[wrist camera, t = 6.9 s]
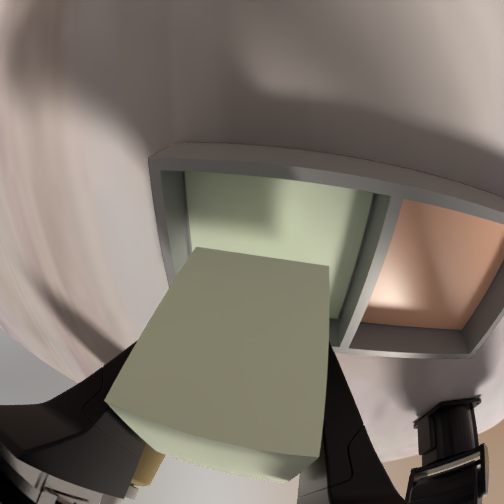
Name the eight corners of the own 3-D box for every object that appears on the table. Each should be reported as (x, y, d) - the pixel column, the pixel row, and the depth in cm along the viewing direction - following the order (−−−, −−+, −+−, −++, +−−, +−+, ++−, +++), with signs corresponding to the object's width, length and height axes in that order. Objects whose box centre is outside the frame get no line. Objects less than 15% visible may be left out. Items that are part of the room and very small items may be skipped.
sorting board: (525, 206, 9) (549, 230, 7) (461, 329, 14) (470, 358, 12) (175, 142, 12) (147, 158, 10) (192, 295, 17) (177, 324, 15)
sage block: (329, 266, 9) (318, 457, 4) (306, 347, 11) (286, 482, 7) (196, 246, 10) (104, 400, 5) (206, 330, 12) (156, 451, 7)
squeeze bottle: (121, 363, 27) (56, 493, 12) (188, 390, 26) (132, 535, 12) (133, 391, 32) (84, 498, 17) (189, 413, 31) (146, 528, 17)
